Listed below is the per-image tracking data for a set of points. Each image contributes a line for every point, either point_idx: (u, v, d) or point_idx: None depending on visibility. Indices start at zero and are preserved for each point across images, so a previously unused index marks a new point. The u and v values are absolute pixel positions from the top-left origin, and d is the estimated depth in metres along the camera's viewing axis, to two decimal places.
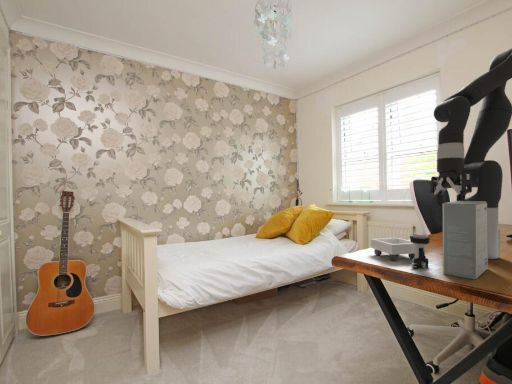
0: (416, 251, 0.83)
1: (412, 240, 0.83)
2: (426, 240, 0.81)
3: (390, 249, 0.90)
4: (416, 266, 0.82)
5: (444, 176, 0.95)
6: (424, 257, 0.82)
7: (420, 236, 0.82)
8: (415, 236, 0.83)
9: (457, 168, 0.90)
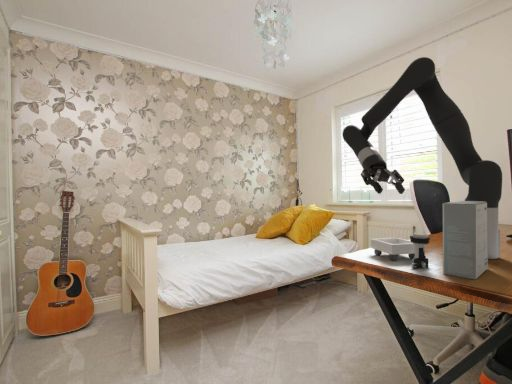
0: (416, 251, 0.83)
1: (412, 240, 0.83)
2: (426, 240, 0.81)
3: (390, 249, 0.90)
4: (416, 266, 0.82)
5: None
6: (424, 257, 0.82)
7: (420, 236, 0.82)
8: (415, 236, 0.83)
9: (366, 169, 1.03)
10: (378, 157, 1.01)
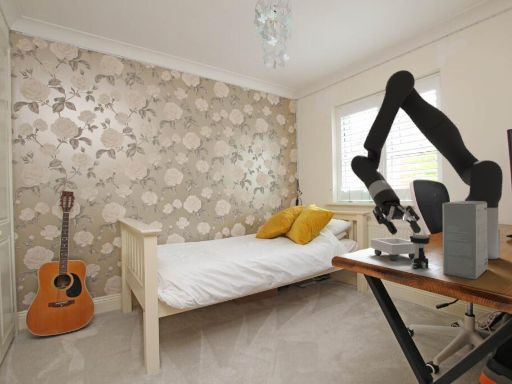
0: (416, 251, 0.83)
1: (412, 240, 0.83)
2: (426, 240, 0.81)
3: (390, 249, 0.90)
4: (416, 266, 0.82)
5: None
6: (424, 257, 0.82)
7: (420, 236, 0.82)
8: (415, 236, 0.83)
9: (378, 205, 0.96)
10: (391, 192, 0.95)
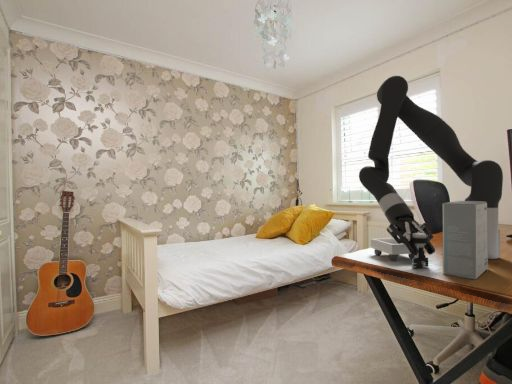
0: None
1: (411, 240, 0.83)
2: (425, 240, 0.81)
3: (390, 249, 0.90)
4: (416, 266, 0.82)
5: None
6: (424, 256, 0.82)
7: (419, 236, 0.82)
8: (414, 236, 0.83)
9: (390, 220, 0.90)
10: (404, 207, 0.89)
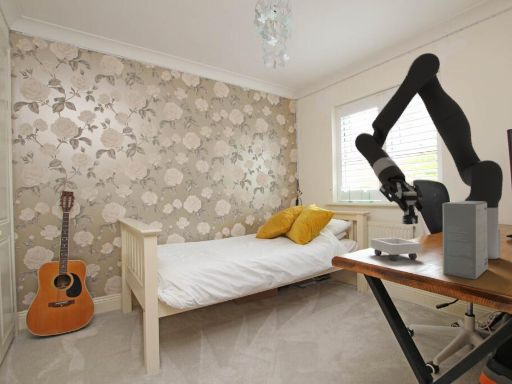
0: None
1: (402, 198, 0.87)
2: (416, 197, 0.85)
3: (390, 249, 0.90)
4: (406, 222, 0.86)
5: None
6: (414, 213, 0.86)
7: (410, 193, 0.86)
8: (405, 194, 0.87)
9: (383, 182, 0.94)
10: (396, 169, 0.93)
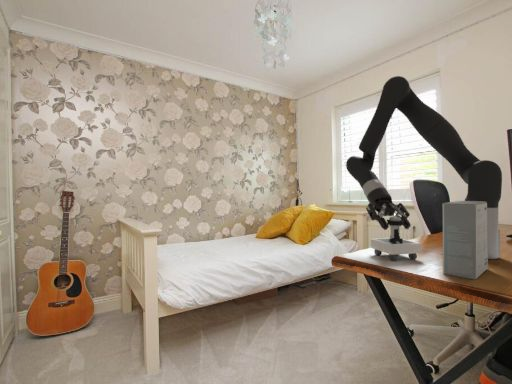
0: (392, 232, 0.96)
1: (388, 222, 0.97)
2: (400, 222, 0.94)
3: (390, 249, 0.90)
4: None
5: None
6: (398, 237, 0.96)
7: (395, 219, 0.95)
8: (391, 219, 0.96)
9: (371, 202, 1.03)
10: (383, 191, 1.02)
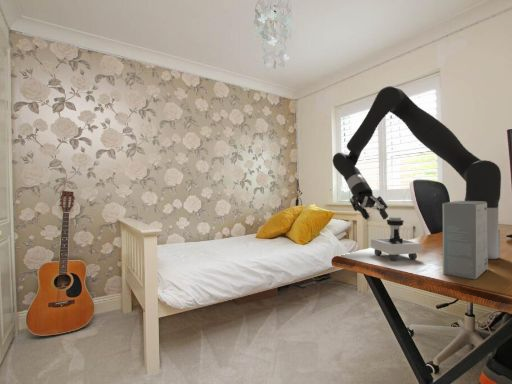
0: (392, 232, 0.96)
1: (388, 223, 0.97)
2: (400, 222, 0.94)
3: (390, 249, 0.90)
4: None
5: None
6: (398, 237, 0.96)
7: (395, 219, 0.95)
8: (391, 219, 0.96)
9: (354, 195, 1.14)
10: (365, 185, 1.13)
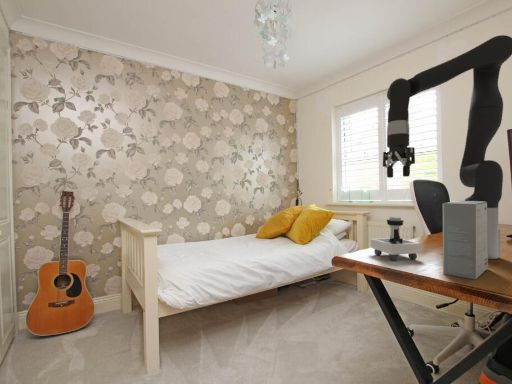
0: (392, 232, 0.96)
1: (388, 223, 0.97)
2: (400, 222, 0.94)
3: (390, 249, 0.90)
4: None
5: (393, 150, 1.06)
6: (398, 237, 0.96)
7: (395, 219, 0.95)
8: (391, 219, 0.96)
9: (403, 142, 1.02)
10: None
